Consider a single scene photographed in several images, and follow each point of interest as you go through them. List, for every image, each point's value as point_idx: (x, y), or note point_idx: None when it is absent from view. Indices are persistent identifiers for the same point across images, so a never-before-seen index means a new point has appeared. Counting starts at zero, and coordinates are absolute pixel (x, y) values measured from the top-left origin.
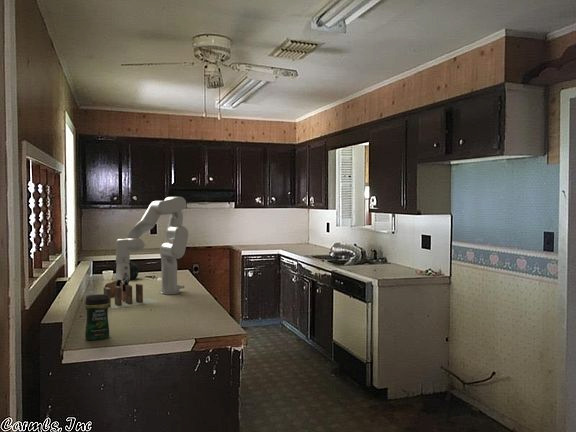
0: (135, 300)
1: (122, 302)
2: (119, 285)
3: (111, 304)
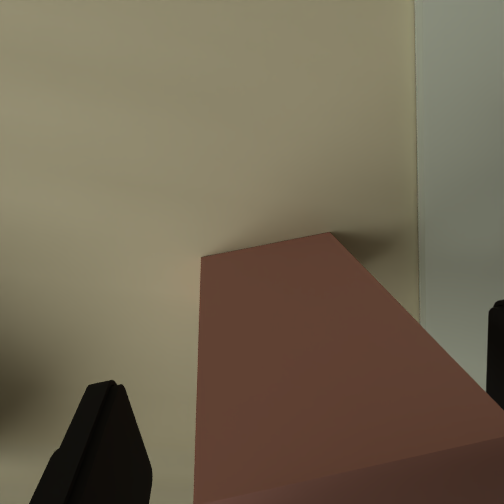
0: (444, 122)
1: (455, 312)
2: (122, 498)
3: None
